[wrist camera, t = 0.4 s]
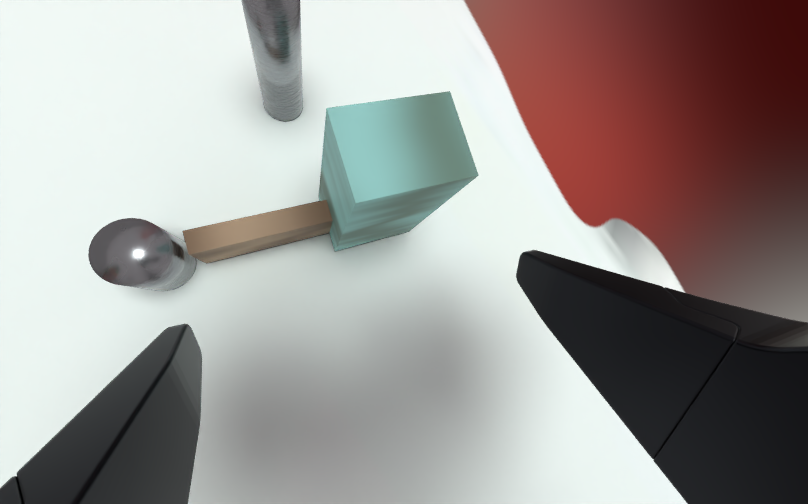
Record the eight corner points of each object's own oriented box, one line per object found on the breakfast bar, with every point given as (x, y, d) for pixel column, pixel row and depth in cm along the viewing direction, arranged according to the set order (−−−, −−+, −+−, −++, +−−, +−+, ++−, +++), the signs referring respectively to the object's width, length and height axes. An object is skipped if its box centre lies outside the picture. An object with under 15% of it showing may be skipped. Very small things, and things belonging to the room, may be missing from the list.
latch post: (310, 107, 23) (312, -41, 13) (282, 128, 22) (262, -13, 12) (284, 80, 22) (267, -90, 13) (255, 100, 22) (214, -65, 12)
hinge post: (208, 264, 19) (184, 252, 16) (161, 302, 19) (123, 299, 15) (169, 226, 19) (135, 205, 15) (120, 262, 18) (71, 249, 15)
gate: (211, 283, 19) (120, 256, 10) (195, 222, 19) (91, 140, 10) (408, 231, 23) (478, 175, 13) (392, 180, 23) (449, 91, 14)
